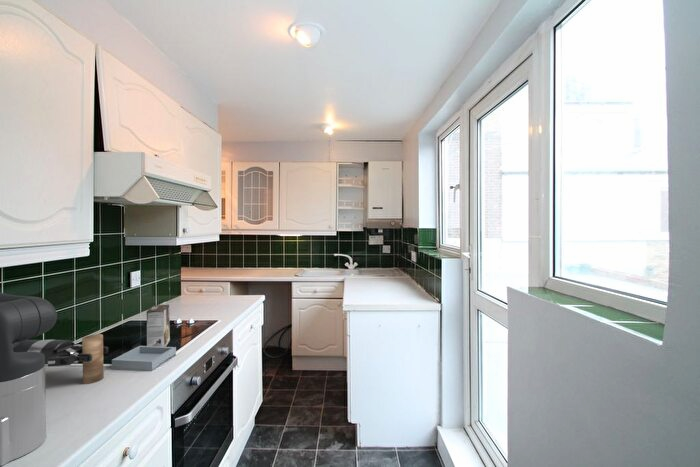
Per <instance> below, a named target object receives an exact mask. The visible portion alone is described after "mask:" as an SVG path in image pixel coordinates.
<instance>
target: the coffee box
mask: <svg viewBox="0 0 700 467" xmlns="http://www.w3.org/2000/svg"><path fill="white" fill-rule="evenodd" d="M170 331H171V330H170V304H156V305H155V304H153V305H152V306H150V307H149V309H147V311H146V346H158V347H168V344H169V343H170V341H171V336H170Z"/></svg>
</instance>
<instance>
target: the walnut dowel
mask: <svg viewBox="0 0 700 467" xmlns="http://www.w3.org/2000/svg"><path fill="white" fill-rule="evenodd" d="M81 341H82V342H81V345H82V354H91V355H92V360H91V361H90V362H82V383H83V385H90V384H94V383H97V382H100V381H102V380H103V379H104V378H105V373H104V354H103V347H104V335H103V334H101V333H100V334H99V333H97V334H90V335H87V336H84V337H82V338H81Z"/></svg>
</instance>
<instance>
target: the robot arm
mask: <svg viewBox="0 0 700 467" xmlns="http://www.w3.org/2000/svg"><path fill="white" fill-rule="evenodd" d="M57 319H58V312H57V309H56V308H55V307H54V305H53V304H52V303H51V302H50V301H49V300H47V299H45V298H42V297H39V296H26V295H15V294H8V293H5V292H1V291H0V466H1V467H3V466H4V465H7V463H9V462H11V461H14V460H16V459H18V458H21V457H23V456H25V455H27V454H30V453H31V452H33V451H34V450H36V449H37V448H38V447H40V446H41V445H42V444H43V443H44V442H45V441H46V439H47V406H46V405H47V400H46V395H47V394H46V365H47V366H48V367H61V366H64V367H65V366H70V365H72V363H74V364H75V363H79V362H81V363H83V362H90V361H91V360H92V355H91V354H82V344H79V343H78V344H76V343H75V342H74V341H72V340H69V339H32V338H36V337H38V336H41V335H43V334H45V333H47V332H49V331H50V330H51V329H52V328H53V327H54V326H55V324H56V322H57ZM108 353H109V347H108V346H103V355H106V354H108Z"/></svg>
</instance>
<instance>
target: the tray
mask: <svg viewBox="0 0 700 467" xmlns="http://www.w3.org/2000/svg"><path fill="white" fill-rule="evenodd" d="M176 356H177V347H176V346H166V347H158V346H147V345H138V346H136V347H134V348H133V349H130V350H129V351H126V352H124V353H122V354H121V355H119V356H117V357H115V358H113V359H111V369H112V370H122V371H123V370H125V371H143V372H144V371H146V372H152V371H154V370H156V369H157V368H159V367H161V366H162V365H164V364H165V363H166V362H168V361H169V360H171V359H173V358H174V357H176Z"/></svg>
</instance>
